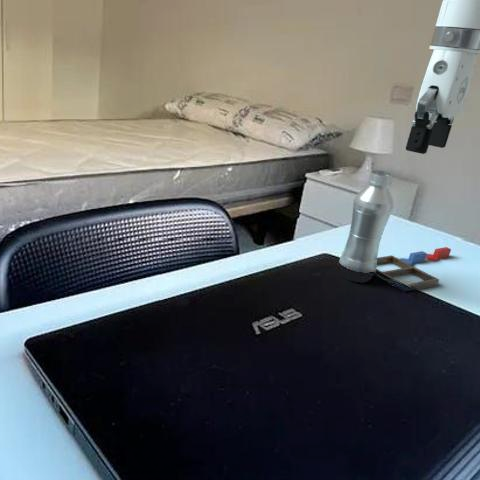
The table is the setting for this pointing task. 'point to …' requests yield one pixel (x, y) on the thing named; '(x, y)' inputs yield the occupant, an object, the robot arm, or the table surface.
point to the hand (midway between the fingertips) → (425, 148)
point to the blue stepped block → (415, 257)
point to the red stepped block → (439, 254)
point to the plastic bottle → (368, 223)
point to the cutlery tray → (405, 270)
